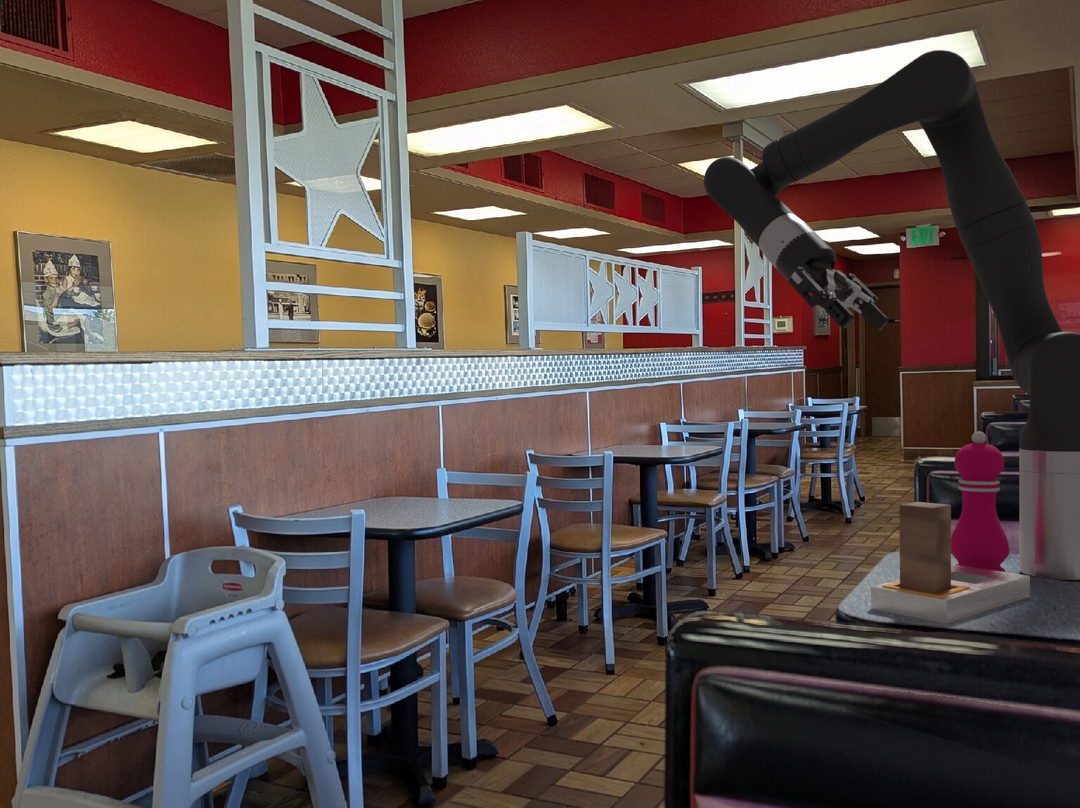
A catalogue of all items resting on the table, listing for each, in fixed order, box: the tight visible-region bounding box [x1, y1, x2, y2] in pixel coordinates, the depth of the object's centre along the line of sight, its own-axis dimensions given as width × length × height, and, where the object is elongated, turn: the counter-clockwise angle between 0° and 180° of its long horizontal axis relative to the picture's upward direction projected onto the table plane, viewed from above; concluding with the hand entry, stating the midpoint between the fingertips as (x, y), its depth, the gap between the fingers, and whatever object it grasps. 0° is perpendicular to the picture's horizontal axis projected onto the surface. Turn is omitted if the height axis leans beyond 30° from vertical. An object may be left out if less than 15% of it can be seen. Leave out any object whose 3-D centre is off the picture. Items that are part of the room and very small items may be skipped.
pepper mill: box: [951, 430, 1010, 572], centre depth 123 cm, size 7×7×20 cm
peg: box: [899, 501, 952, 593], centre depth 105 cm, size 4×4×12 cm
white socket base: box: [870, 564, 1031, 624], centre depth 109 cm, size 20×9×3 cm, turn 129°
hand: (866, 324), depth 127 cm, fingers open, 8 cm apart
